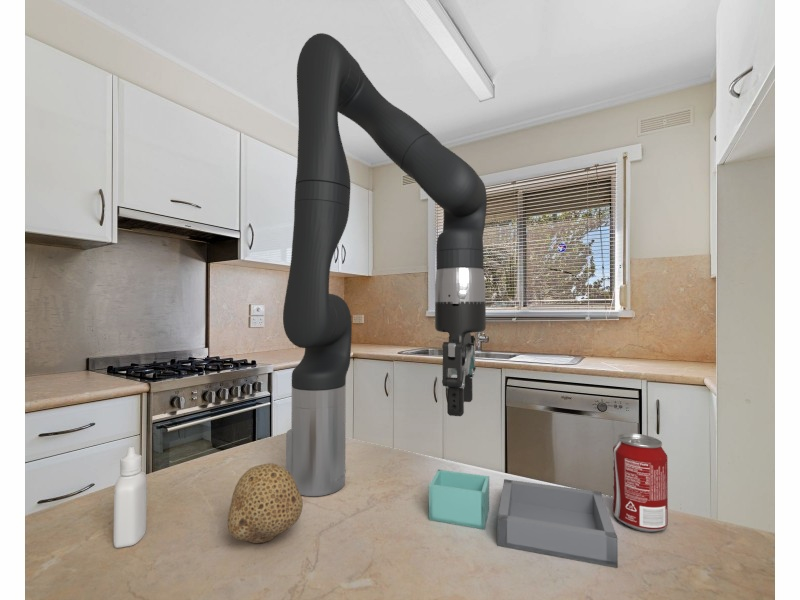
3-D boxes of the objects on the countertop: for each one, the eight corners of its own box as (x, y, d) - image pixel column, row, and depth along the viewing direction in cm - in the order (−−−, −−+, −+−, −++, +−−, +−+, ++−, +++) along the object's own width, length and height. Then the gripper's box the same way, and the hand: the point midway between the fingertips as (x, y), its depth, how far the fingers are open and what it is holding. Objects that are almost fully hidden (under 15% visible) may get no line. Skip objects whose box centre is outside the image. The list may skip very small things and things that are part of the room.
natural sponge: (313, 528, 57) (314, 456, 57) (279, 568, 48) (280, 483, 48) (256, 519, 59) (257, 450, 59) (214, 556, 50) (215, 475, 51)
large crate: (497, 545, 53) (497, 518, 53) (504, 501, 65) (504, 479, 65) (617, 567, 48) (617, 538, 49) (601, 515, 60) (601, 492, 60)
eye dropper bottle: (97, 547, 52) (98, 453, 52) (132, 524, 58) (133, 439, 58) (127, 551, 51) (128, 456, 52) (160, 527, 57) (161, 441, 57)
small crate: (429, 519, 59) (429, 485, 59) (438, 500, 65) (438, 469, 65) (484, 529, 57) (484, 493, 57) (489, 509, 62) (489, 476, 62)
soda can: (676, 538, 55) (676, 449, 55) (621, 532, 56) (621, 445, 56) (655, 513, 61) (655, 433, 61) (607, 508, 63) (607, 430, 63)
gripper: (445, 300, 69) (445, 396, 69) (423, 299, 55) (424, 418, 55) (490, 300, 67) (490, 399, 66) (479, 298, 53) (480, 423, 53)
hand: (460, 407), depth 61 cm, fingers open, 8 cm apart
